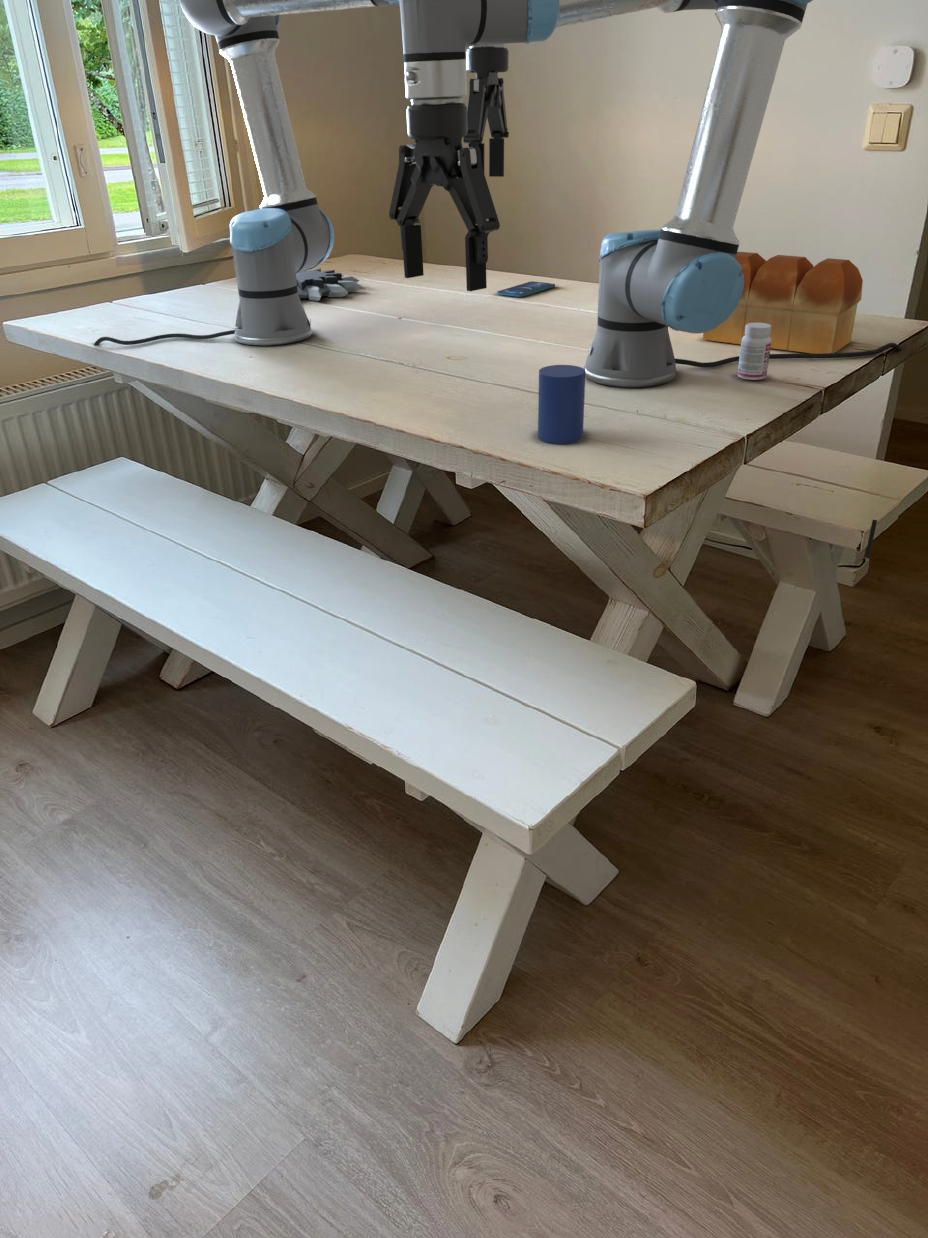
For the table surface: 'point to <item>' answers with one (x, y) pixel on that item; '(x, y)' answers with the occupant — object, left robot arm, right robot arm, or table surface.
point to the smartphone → (525, 289)
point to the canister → (561, 404)
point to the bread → (795, 302)
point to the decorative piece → (324, 284)
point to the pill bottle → (755, 351)
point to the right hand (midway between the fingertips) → (444, 282)
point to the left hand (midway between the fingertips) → (486, 180)
